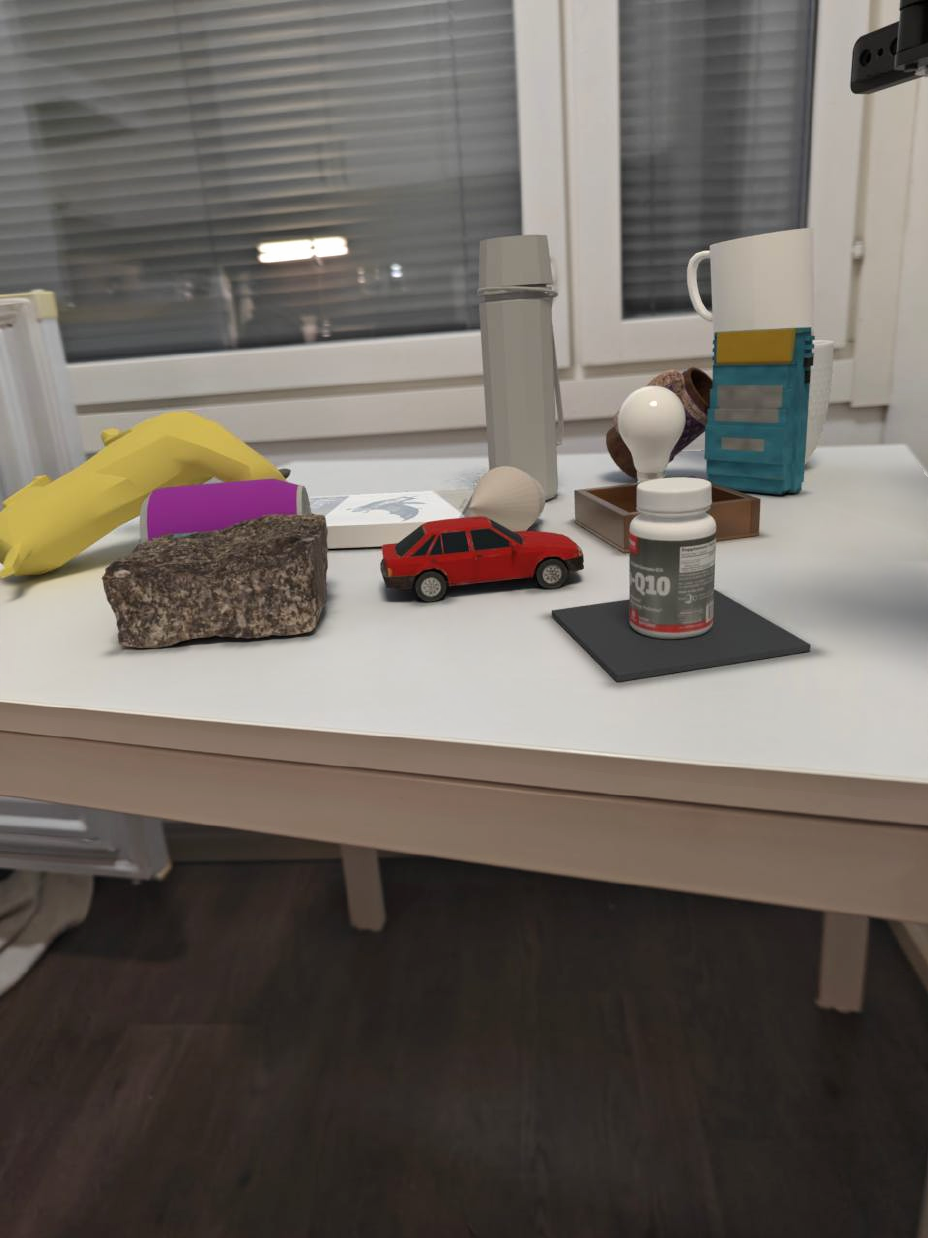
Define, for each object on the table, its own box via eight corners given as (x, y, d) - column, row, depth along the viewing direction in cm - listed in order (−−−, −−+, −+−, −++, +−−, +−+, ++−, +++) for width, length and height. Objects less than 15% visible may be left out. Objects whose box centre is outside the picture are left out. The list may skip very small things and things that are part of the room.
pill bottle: (613, 624, 50) (611, 484, 47) (675, 607, 52) (677, 472, 49) (665, 647, 46) (667, 496, 43) (731, 628, 48) (736, 482, 45)
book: (208, 553, 75) (204, 531, 74) (261, 517, 88) (258, 499, 87) (463, 543, 72) (461, 520, 71) (480, 507, 85) (479, 488, 84)
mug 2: (818, 333, 91) (818, 230, 88) (808, 339, 83) (807, 225, 80) (700, 347, 97) (696, 251, 94) (680, 354, 89) (674, 249, 85)
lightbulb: (613, 507, 81) (611, 390, 78) (623, 494, 87) (622, 384, 83) (681, 507, 79) (682, 387, 75) (687, 494, 85) (689, 380, 81)
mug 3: (706, 456, 103) (709, 344, 99) (799, 451, 102) (806, 337, 98) (732, 478, 89) (736, 349, 85) (840, 472, 88) (850, 341, 84)
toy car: (591, 586, 59) (589, 515, 57) (384, 608, 57) (377, 537, 56) (568, 562, 65) (566, 498, 63) (381, 582, 63) (374, 517, 62)
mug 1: (638, 439, 98) (720, 372, 90) (655, 489, 95) (742, 424, 87) (576, 414, 91) (659, 340, 83) (593, 467, 88) (680, 395, 80)
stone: (321, 636, 53) (306, 545, 51) (110, 656, 53) (87, 565, 51) (339, 583, 63) (328, 505, 61) (163, 599, 63) (146, 522, 61)
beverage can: (165, 605, 67) (316, 592, 67) (131, 550, 60) (299, 535, 61) (172, 528, 71) (315, 515, 71) (141, 467, 64) (299, 454, 65)
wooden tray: (692, 508, 79) (693, 476, 78) (759, 535, 68) (760, 498, 67) (574, 522, 77) (573, 489, 76) (624, 553, 66) (623, 515, 65)
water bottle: (522, 509, 83) (508, 233, 75) (474, 500, 89) (457, 244, 81) (589, 493, 88) (583, 233, 80) (539, 485, 94) (529, 243, 86)
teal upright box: (808, 489, 82) (819, 326, 77) (788, 497, 79) (797, 329, 74) (718, 481, 89) (723, 330, 84) (697, 488, 86) (700, 333, 81)
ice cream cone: (463, 450, 64) (523, 451, 78) (418, 512, 67) (484, 503, 80) (522, 502, 63) (572, 494, 77) (475, 563, 66) (532, 544, 79)
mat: (711, 593, 55) (711, 587, 55) (810, 651, 45) (811, 644, 45) (551, 616, 53) (551, 610, 53) (617, 682, 43) (617, 675, 43)
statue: (20, 661, 76) (121, 673, 62) (-81, 543, 70) (6, 527, 56) (228, 502, 91) (346, 483, 78) (159, 394, 86) (273, 353, 72)
